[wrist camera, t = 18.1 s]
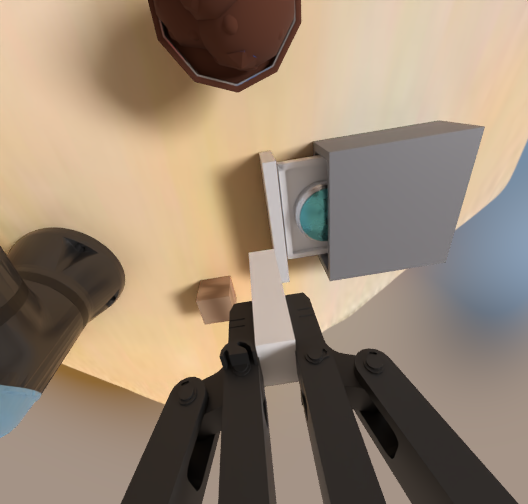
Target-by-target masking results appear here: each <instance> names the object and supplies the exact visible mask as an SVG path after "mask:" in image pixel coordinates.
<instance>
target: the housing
mask: <svg viewBox="0 0 528 504" xmlns="http://www.w3.org/2000/svg"><path fill="white" fill-rule="evenodd" d="M484 128H485V127H483V126H476V125H469V124H461V123H454V122H447V121H434V122H428V123H422V124H416V125H410V126H404V127H398V128H392V129H386V130H380V131H373V132H367V133H361V134H355V135H349V136H343V137H337V138H331V139H325V140H319V141H313V153H314V156H317V155H321V156H322V157H323V158H324V159H326V160H327V183H328V253H325V254H319V255H318V257H319V259H320V261H321V263H322V265H323V267H324V269H325V271H326V274H327V276H328V278H329V280H330V281H333V280H340V279H346V278H352V277H358V276H365V275H371V274H377V273H383V272H389V271H396V270H402V269H408V268H413V267H420V266H427V265H433V264H439V263H445V262H446V259H447V255H448V252H449V249H450V245H451V242H452V238H453V235H454V231H455V228H456V224H457V221H458V218H459V214H460V211H461V207H462V204H463V200H464V197H465V193H466V190H467V186H468V183H469V180H470V176H471V173H472V169H473V166H474V162H475V159H476V155H477V152H478V149H479V145H480V142H481V138H482V135H483V131H484Z"/></svg>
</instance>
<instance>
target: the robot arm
mask: <svg viewBox="0 0 528 504" xmlns="http://www.w3.org/2000/svg"><path fill="white" fill-rule="evenodd" d="M249 264H250V278H251V292H252V301H249V302H243V303H236V304H234V305H233V306H232V308H231V310H230V313H229V341H228V344H226V345H225V346H224V348H223V349H222V350H221V353H220V359H221V362H222V365H223V368H222V369H221V370H220V371H218V372H217V373H215V374H214V375H212V376H210V377H208V378H206V379H204V380H201V379H200V378H196V377H188V378H186V379H184V380H181V381H180V382H179V383H178V384H177V385H175V387H174V388H173V390H172V391H171V393H170V395H169V397H168V399H167V402H166V404H165V406H164V408H163V411H162V413H161V415H160V417H159V420H158V422H157V424H156V426H155V429H154V431H153V433H152V435H151V437H150V440H149V442H148V444H147V446H146V449H145V451H144V453H143V455H142V458H141V460H140V462H139V464H138V466H137V469H136V471H135V473H134V475H133V478H132V480H131V482H130V484H129V486H128V489H127V491H126V493H125V496H124V498H123V500H122V502H121V504H202V501H203V497H204V493H205V489H206V485H207V481H208V477H209V473H210V469H211V465H212V462H213V458H214V454H215V450H216V446H217V442H218V438H219V434H220V431H221V430H222V431H221V454H220V477H219V499H218V504H276V495H275V485H274V474H273V465H272V454H271V444H270V433H269V423H268V413H267V402H266V397H265V390H264V387H266V386H273V385H279V384H285V383H292V382H298V381H299V384H300V388H301V401H302V405H303V407H304V412H305V417H306V421H307V427H308V431H309V436H310V441H311V446H312V451H313V455H314V460H315V465H316V470H317V475H318V480H319V484H320V489H321V494H322V498H323V504H386V502H385V499H384V496H383V493H382V491H381V488H380V486H379V482H378V480H377V477H376V474H375V472H374V469H373V466H372V463H371V460H370V458H369V455H368V452H367V449H366V446H365V444H364V441H363V438H362V435H361V432H360V430H359V427H358V424H357V422H356V419H355V416H354V413H353V410H352V409H354V410H355V412H356V414H357V415H358V417H359V419H360V421H361V422H362V424H363V425H364V427H365V429H366V430H367V432H368V433H369V435H370V437H371V438H372V440H373V441H374V443H375V445H376V446H377V448H378V449H379V451H380V453H381V454H382V456H383V458H384V459H385V461H386V463H387V464H388V466H389V467H390V469H391V471H392V472H393V474H394V475H395V477H396V479H397V480H398V482H399V483H400V485H401V487H402V488H403V490H404V492H405V493H406V495H407V497H408V498H409V500H410V501H411V503H412V504H518V503H517V502H516V501H515V499H514V498H513V497H512V496H511V495H510V494H509V493H508V491H507V490H506V489H505V488H504V487H503V486H502V485H501V483H500V482H499V481H498V480H497V479H496V478H495V477H494V476H493V474H492V473H491V472H490V471H489V470H488V469H487V468H486V467H485V465H484V464H483V463H482V462H481V461H480V460H479V459H478V457H477V456H476V455H475V454H474V453H473V452H472V451H471V450H470V448H469V447H468V446H467V445H466V444H465V443H464V442H463V441H462V439H461V438H460V437H459V436H458V435H457V434H456V433H455V432H454V430H453V429H452V428H451V427H450V426H449V425H448V424H447V422H446V421H445V420H444V419H443V418H442V417H441V416H440V415H439V413H438V412H437V411H436V410H435V409H434V408H433V407H432V406H431V405H430V403H429V402H428V401H427V400H426V399H425V398H424V396H423V395H422V394H421V393H420V392H419V391H418V390H417V389H416V387H415V386H414V385H413V384H412V383H411V382H410V381H409V379H408V378H407V377H406V376H405V375H404V374H403V373H402V372H401V370H400V369H399V368H398V367H397V366H396V365H395V364H394V363H393V361H392V360H391V359H390V358H389V357H388V356H387V355H385V354H384V353H383V352H381V351H378V350H376V349H364V350H361V351H360V352H358V353H357V355H356V356H355V355H349V354H343V353H338V352H336V351H334V350H332V349H331V348H330V347H329V346H328V345H327V344H326V343H325V341H324V338H323V336H322V333H321V330H320V327H319V324H318V321H317V319H316V316H315V313H314V310H313V308H312V304H311V302H310V299H309V298H308V297H307V296H306V295H305V294H304V293H297V294H291V295H285V294H284V290H283V286H282V281H281V277H280V273H279V269H278V264H277V260H276V256H275V252H274V249H269V250H263V251H256V252H250V253H249ZM124 285H125V274H124V270H123V268H122V266H121V264H120V262H119V260H118V259H117V257H116V256H115V255H114V254H113V253H112V252H111V251H110V250H109V249H108V248H107V247H106V246H104V245H103V244H102V243H100V242H99V241H97V240H96V239H94V238H92V237H90V236H88V235H86V234H83V233H80V232H77V231H74V230H70V229H65V228H43V229H38V230H35V231H33V232H30V233H29V234H27V235H25V236H24V237H22V238H21V239H20V240H18V241H17V242H16V243H15V244H14V245H13V246H12V248H11V250H10V251H9V254H8V255H6V254H5V252H4V251H3V249H2V248H1V246H0V438H1V437H3V436H4V435H6V434H8V433H9V432H11V431H12V430H13V429H14V428H15V427H16V426H17V425H18V424H19V423H20V421H21V420H22V419H23V417H24V416H25V414H26V413H27V412H28V410H29V409H30V408H31V406H32V405H33V403H34V402H36V401H37V400H39V399H40V397H41V395H42V393H43V391H44V389H45V388H46V386H47V385H48V383H49V382H50V380H51V379H52V377H53V375H54V374H55V372H56V371H57V369H58V367H59V366H60V365H61V363H62V361H63V360H64V358H65V357H66V355H67V354H68V352H69V351H70V349H71V347H72V346H73V344H74V343H75V341H76V340H77V338H78V337H79V335H80V333H81V332H82V330H83V329H84V327H85V326H86V324H87V323H88V322H90V321H91V320H92V319H94V318H95V317H96V316H98V315H99V314H100V313H102V312H103V311H104V310H106V309H107V308H108V307H110V306H111V305H112V304H113V303H114V302H115V301H116V300H117V299H118V298H119V296H120V294H121V293H122V291H123V289H124Z"/></svg>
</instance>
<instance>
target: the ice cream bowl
mask: <svg viewBox="0 0 528 504" xmlns="http://www.w3.org/2000/svg"><path fill="white" fill-rule="evenodd" d="M148 3H149V7H150V11H151V14H152V18H153V22H154V26H155V30H156V34H157V38H158V40H159V42H160V43H161V44H162V45H163V46H164V47H165V48H166V50H167V51H168V52H169V53H170V54H171V55H172V56H173V58H174V59H175V60H176V61H177V62H178V63H179V64H180V66H181V67H182V68H183V69H184V70H185V71H186V72H187V74H188V75H189V76H190V77H191V78H192V79H193V80H194V82H197V83H201V84H206V85H210V86H214V87H218V88H222V89H226V90H230V91H234V92H240V91H242V90H244V89H246V88H248V87H249V86H251V85H253V84H255V83H257V82H259V81H261V80H263V79H264V78H266V77H268V76H270V75H272V74H274V73H276V72H277V71H278V69H279V67H280V65H281V63H282V61H283V58H284V56H285V54H286V52H287V50H288V48H289V46H290V44H291V42H292V40H293V38H294V36H295V34H296V32H297V30H298V28H299V26H300V24H301V0H148Z"/></svg>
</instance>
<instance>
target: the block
mask: <svg viewBox="0 0 528 504" xmlns="http://www.w3.org/2000/svg"><path fill="white" fill-rule="evenodd" d="M196 303H197V305H198V308H199V311H200V313H201V316H202V318H203V321H204V324H211V323H218V322H224V321H229V313H230V310H231V308H232V306H233V305H234V304H236V295H235V291H234V287H233V284H232V280H231V276H225V277H219V278H213V279H207V280H201V281H200V285H199V289H198V294H197V299H196Z"/></svg>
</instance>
